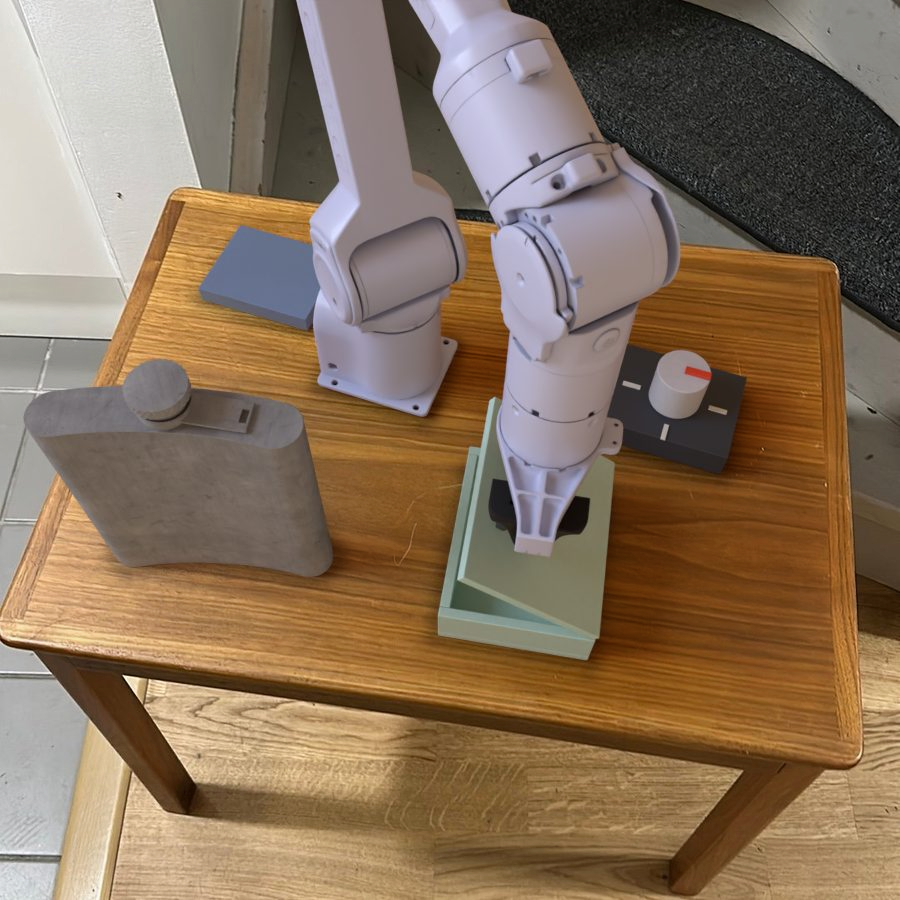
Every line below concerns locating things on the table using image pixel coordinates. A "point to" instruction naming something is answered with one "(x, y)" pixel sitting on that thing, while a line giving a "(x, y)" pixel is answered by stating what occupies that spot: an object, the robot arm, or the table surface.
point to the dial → (679, 384)
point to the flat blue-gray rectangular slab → (265, 278)
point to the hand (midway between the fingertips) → (536, 503)
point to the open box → (495, 601)
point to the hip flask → (187, 471)
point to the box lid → (531, 576)
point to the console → (678, 440)
